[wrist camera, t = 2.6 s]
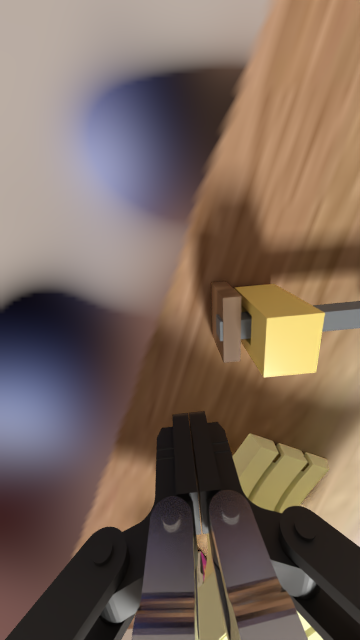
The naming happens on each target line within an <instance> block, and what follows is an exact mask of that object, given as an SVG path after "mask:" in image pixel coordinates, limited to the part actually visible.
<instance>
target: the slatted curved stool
mask: <svg viewBox="0 0 360 640" xmlns="http://www.w3.org/2000/svg"><path fill="white" fill-rule="evenodd" d="M233 461H234V464H235V467H236V471H237V474H238V478H239V481H240V485H241V488H242V490H243V492H244V494H245V495H246V497H247V498H248V499H249V500H250V501H251V502H252V503H254V504H255V505H257V506H259V507H261V508H264V509H267V510H271V511H275V512H279V513H282V512H283V511H284V510H285V509H286V508H288V507H291V506H300V504H301V503H302V501H303V500H304V499H305V497H306V496H307V495H308V493H309V492H310V491H311V490H312V488H313V487H314V486H315V485H316V484H317V483H318V481H319V480H320V479H321V478H322V477H323V476H324V475H325V474H326V473H327V472H328V470H329V467H328V464H327V459H325V458H322V457H319V456H316V455H313V454H310V453H307V452H306V453H305V454H304V455H303V453H302V452H301V450H298V449H295V448H292V447H289V446H287V445H284V444H281V443H278V444H277V446H275V444H274V442H273V441H272V440H269V439H266V438H263V437H260V436H257V435H254V434H251V433H249V435H248V436H247V437H246V439H245V440H244V442H243V443H242V444H241V446H240V447H239V448H238V450H237V451H236V452H235V454H234V455H233ZM207 547H208V549H207V564H206V572H205V578H204V583H203V584H202V585H201V586H200V587H199V588H198V603H199V629H200V640H228V639H227V634H226V629H225V624H224V619H223V614H222V609H221V604H220V599H219V594H218V589H217V584H216V579H215V574H214V569H213V564H212V556H211V546H210V539H209V533H207ZM297 613H298V612H297ZM135 615H136V614H135ZM298 615H299V618H300V620H301V623H302V625H303V628H304V631H305V633H306V636H307V638H308V640H323V639H322V637H321V636H320V635H319V634H318V633H317V632H316V631H315V630H314V629H313V628H312V627H311V626H310V625H309V623H308V622H307V621H306V620H305V619H304V618H303V617H302V616H301V615H300V614H299V613H298Z"/></svg>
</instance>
